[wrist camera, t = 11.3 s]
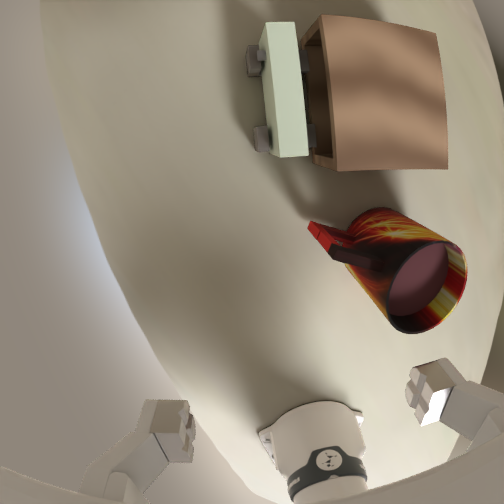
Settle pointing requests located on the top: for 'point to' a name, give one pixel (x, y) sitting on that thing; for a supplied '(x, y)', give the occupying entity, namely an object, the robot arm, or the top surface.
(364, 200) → the top surface
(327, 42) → the cabinet
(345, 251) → the mug
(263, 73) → the door
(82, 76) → the top surface
